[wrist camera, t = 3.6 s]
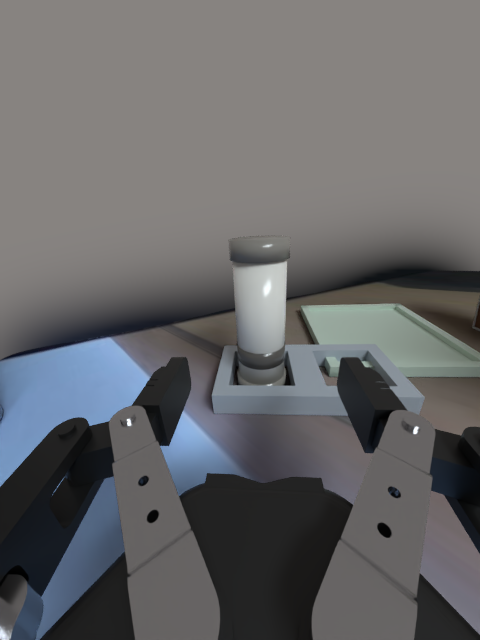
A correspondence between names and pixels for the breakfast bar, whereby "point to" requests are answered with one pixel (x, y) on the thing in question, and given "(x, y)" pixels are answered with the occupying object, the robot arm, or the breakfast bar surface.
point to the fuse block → (305, 383)
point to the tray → (392, 339)
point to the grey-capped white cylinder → (260, 307)
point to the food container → (477, 317)
